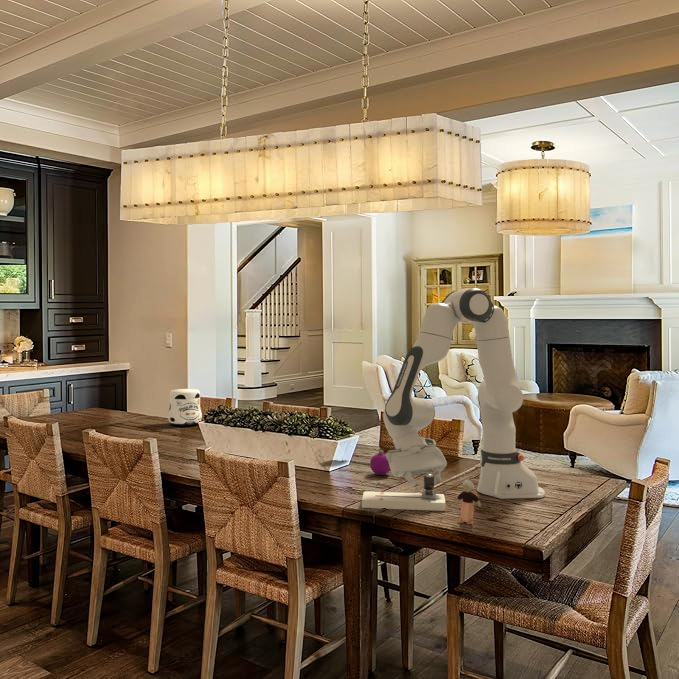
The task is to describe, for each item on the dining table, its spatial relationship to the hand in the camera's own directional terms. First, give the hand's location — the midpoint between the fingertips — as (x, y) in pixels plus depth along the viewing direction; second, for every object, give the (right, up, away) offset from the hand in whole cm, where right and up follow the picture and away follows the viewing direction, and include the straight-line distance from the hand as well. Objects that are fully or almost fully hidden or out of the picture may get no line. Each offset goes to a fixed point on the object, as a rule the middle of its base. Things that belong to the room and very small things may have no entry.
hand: (427, 484), depth 220 cm
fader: (0, -4, 0) cm, 4 cm away
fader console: (-8, -7, +1) cm, 10 cm away
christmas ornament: (-13, -5, +39) cm, 42 cm away
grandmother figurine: (+10, -8, -17) cm, 21 cm away
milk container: (-109, +1, +143) cm, 180 cm away
